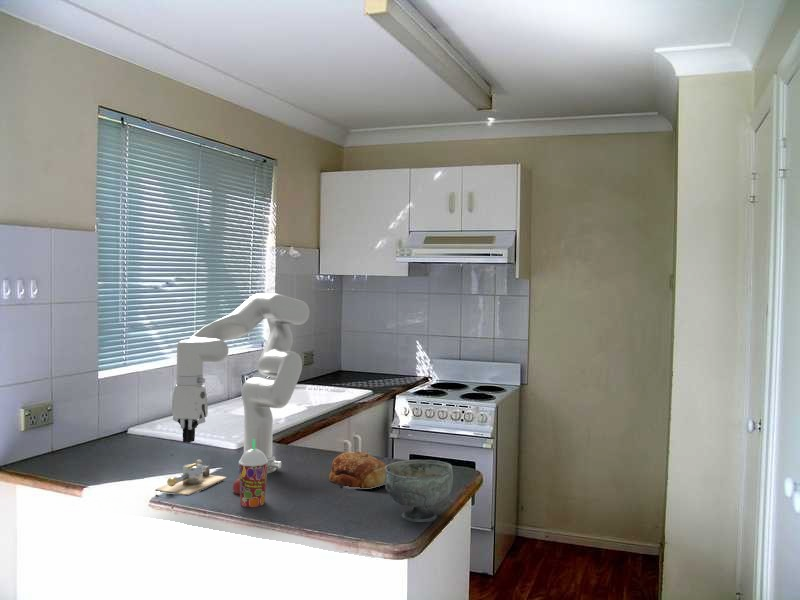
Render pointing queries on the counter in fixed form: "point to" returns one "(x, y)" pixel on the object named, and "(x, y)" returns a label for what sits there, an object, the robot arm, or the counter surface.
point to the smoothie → (253, 477)
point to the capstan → (189, 475)
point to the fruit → (236, 486)
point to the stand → (190, 489)
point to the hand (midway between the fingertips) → (188, 441)
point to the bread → (357, 470)
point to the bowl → (419, 486)
